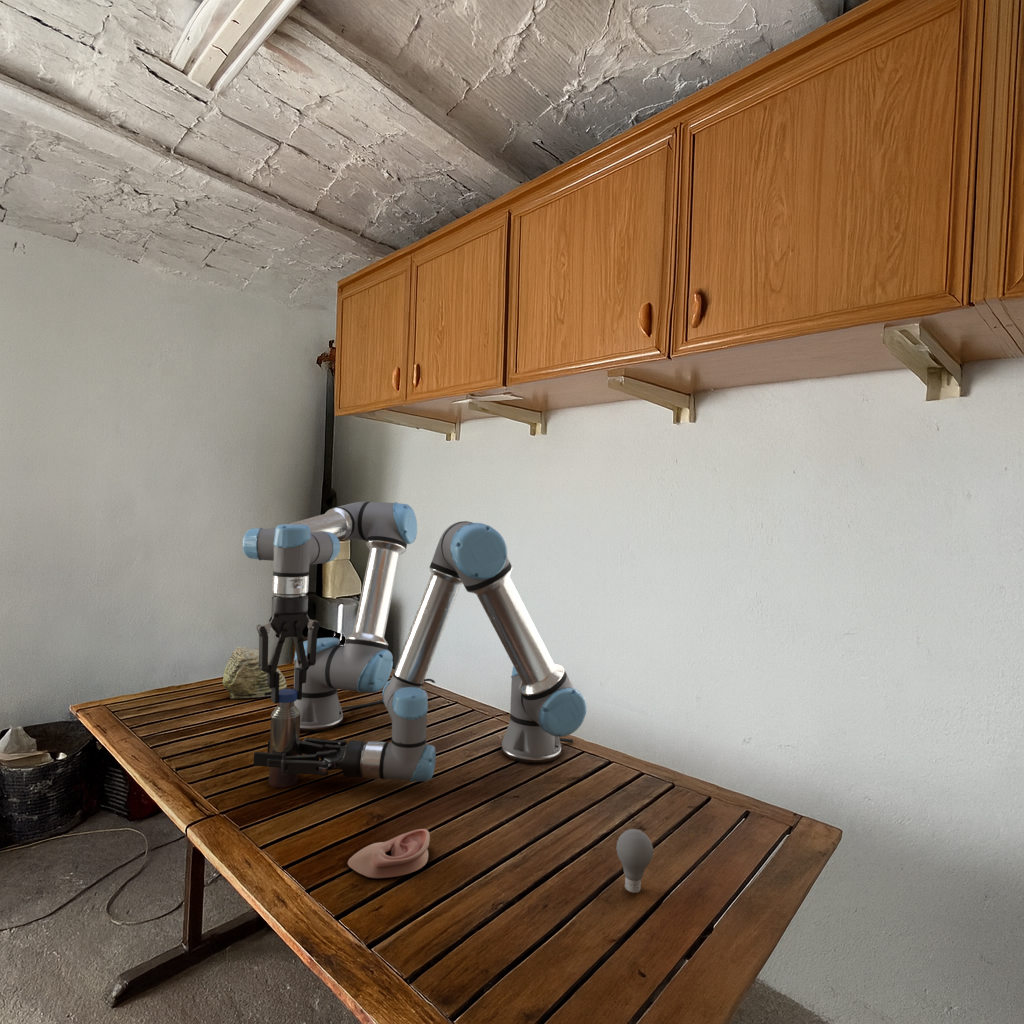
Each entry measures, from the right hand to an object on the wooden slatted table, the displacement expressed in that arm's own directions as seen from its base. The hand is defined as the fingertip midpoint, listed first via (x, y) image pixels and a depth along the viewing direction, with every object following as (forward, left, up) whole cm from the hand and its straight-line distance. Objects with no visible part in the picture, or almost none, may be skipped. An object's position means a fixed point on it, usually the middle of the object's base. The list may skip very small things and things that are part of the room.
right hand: (261, 752), depth 140 cm
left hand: (-5, +2, +12) cm, 13 cm away
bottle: (-5, +2, -6) cm, 8 cm away
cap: (-5, +2, +13) cm, 14 cm away
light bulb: (-57, +61, -6) cm, 84 cm away
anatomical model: (-21, +40, -6) cm, 45 cm away
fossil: (+1, -63, -6) cm, 63 cm away
